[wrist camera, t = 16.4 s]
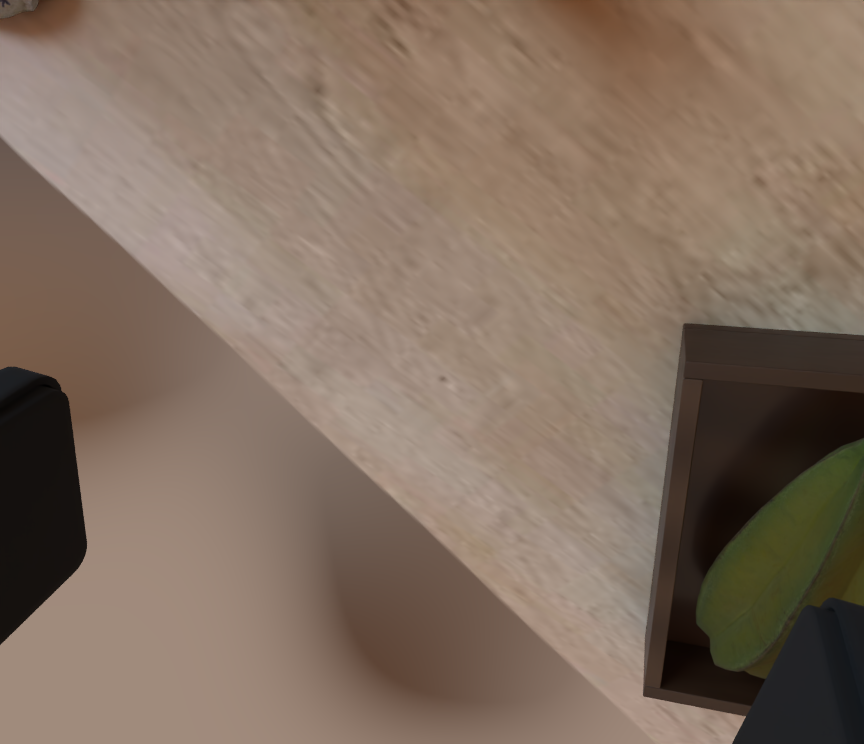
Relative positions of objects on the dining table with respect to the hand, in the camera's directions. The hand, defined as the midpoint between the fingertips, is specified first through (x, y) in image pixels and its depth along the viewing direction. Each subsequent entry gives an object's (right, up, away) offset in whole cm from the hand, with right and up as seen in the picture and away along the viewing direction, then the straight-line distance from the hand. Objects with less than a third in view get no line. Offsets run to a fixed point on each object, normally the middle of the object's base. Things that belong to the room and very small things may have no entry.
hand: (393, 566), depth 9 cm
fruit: (+17, -9, +22) cm, 29 cm away
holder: (+18, -5, +27) cm, 33 cm away
